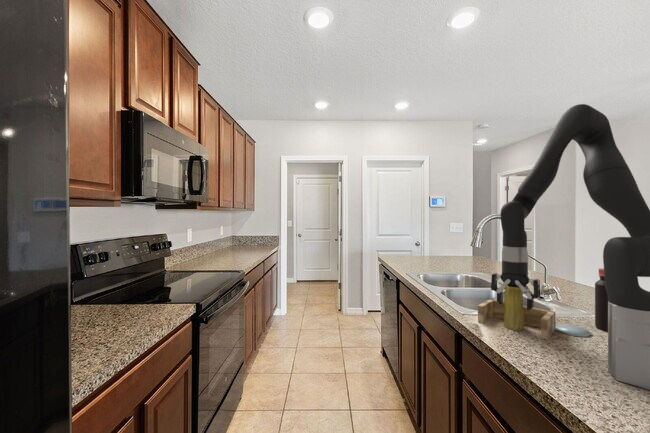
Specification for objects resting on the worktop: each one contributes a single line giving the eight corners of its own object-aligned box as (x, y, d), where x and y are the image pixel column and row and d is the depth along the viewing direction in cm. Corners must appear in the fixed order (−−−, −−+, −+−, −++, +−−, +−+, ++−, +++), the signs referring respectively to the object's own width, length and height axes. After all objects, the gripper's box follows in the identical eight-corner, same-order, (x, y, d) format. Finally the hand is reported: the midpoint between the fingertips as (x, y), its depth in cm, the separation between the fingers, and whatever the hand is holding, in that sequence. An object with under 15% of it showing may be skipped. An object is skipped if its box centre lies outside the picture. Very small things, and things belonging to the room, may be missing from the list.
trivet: (588, 339, 90) (588, 337, 90) (551, 330, 97) (551, 329, 97) (592, 331, 96) (592, 329, 96) (557, 323, 103) (557, 322, 103)
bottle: (603, 324, 102) (603, 267, 102) (628, 331, 95) (628, 270, 95) (590, 326, 100) (589, 268, 100) (614, 334, 93) (614, 272, 93)
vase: (504, 328, 99) (503, 286, 99) (502, 322, 104) (502, 282, 104) (525, 331, 96) (525, 288, 96) (523, 325, 101) (523, 284, 101)
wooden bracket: (547, 339, 90) (547, 320, 90) (478, 322, 105) (477, 305, 105) (555, 329, 97) (555, 311, 97) (489, 314, 113) (489, 299, 113)
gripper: (488, 258, 103) (488, 304, 103) (536, 263, 92) (536, 314, 92) (495, 256, 108) (496, 299, 108) (542, 260, 97) (542, 309, 97)
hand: (514, 306), depth 100 cm, fingers open, 8 cm apart
